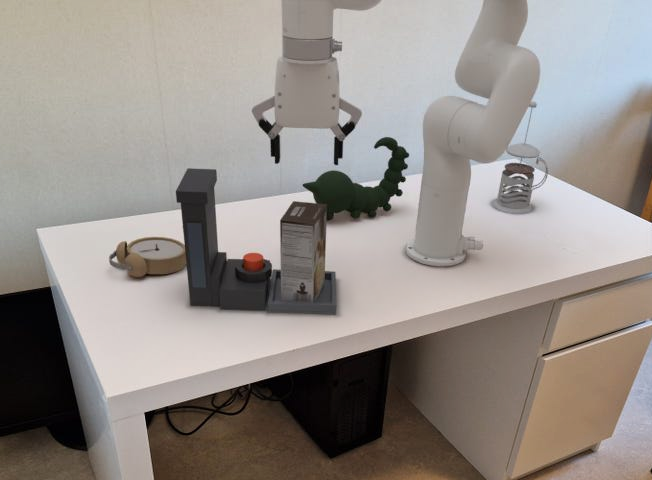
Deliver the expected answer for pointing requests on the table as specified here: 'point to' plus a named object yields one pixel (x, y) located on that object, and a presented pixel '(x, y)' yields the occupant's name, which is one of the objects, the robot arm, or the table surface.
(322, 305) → the pan
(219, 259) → the coffee machine tank
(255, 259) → the brew button
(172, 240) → the alarm clock
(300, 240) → the coffee box
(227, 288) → the button base
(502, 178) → the french press
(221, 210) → the table surface
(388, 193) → the toy figurine
